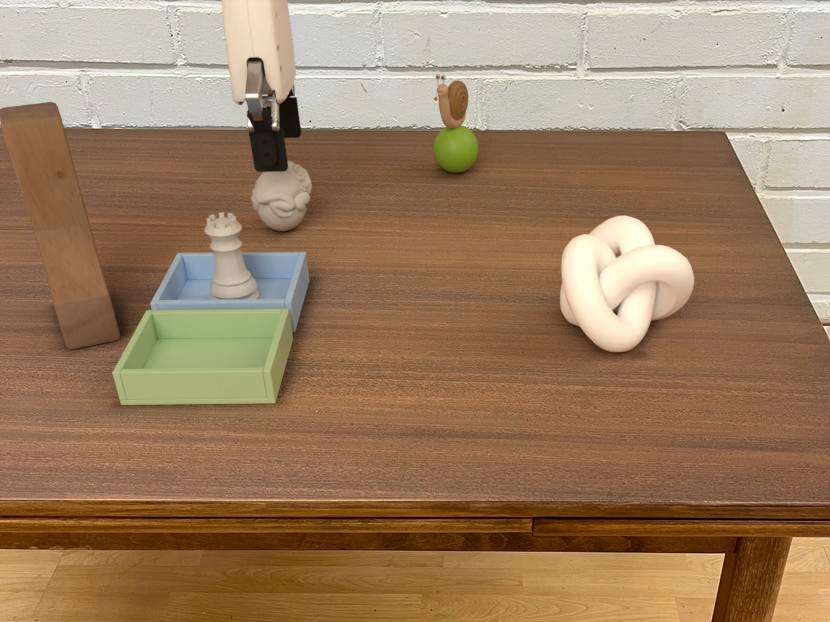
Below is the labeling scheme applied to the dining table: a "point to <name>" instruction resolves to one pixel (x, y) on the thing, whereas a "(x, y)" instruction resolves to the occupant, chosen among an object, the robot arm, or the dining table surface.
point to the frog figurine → (282, 197)
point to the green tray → (205, 357)
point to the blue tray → (278, 289)
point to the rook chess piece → (229, 261)
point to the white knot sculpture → (621, 282)
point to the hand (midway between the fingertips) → (279, 153)
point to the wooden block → (60, 223)
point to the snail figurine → (454, 129)
